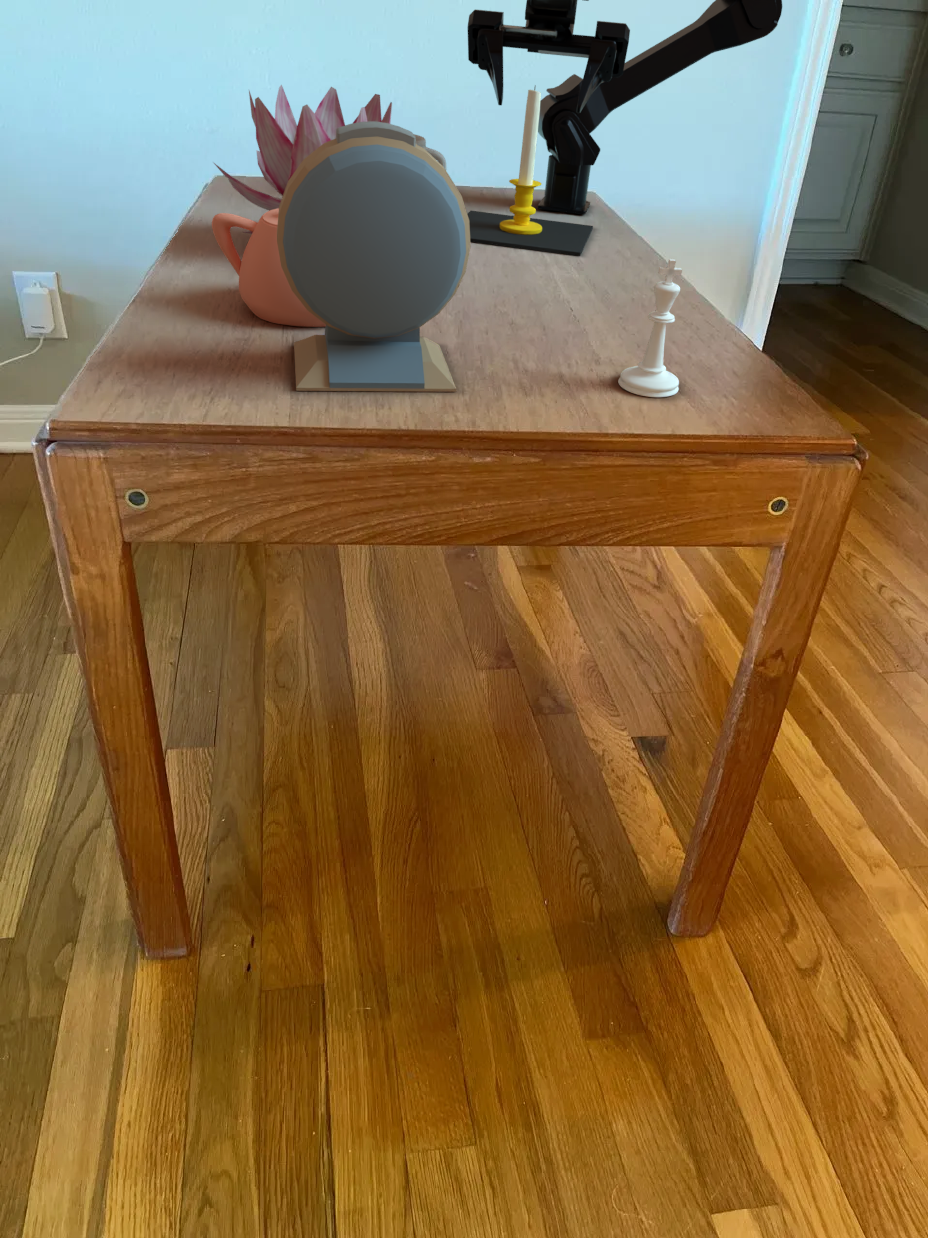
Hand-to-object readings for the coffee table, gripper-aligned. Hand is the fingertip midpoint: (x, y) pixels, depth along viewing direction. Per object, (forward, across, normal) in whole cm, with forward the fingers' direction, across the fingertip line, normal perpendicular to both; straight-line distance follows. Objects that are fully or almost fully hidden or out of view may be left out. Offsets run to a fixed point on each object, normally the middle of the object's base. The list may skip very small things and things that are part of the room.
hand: (539, 106), depth 110 cm
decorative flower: (+24, -21, -4) cm, 32 cm away
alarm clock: (+46, -10, -27) cm, 55 cm away
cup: (+5, -17, +14) cm, 23 cm away
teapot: (+37, -17, -18) cm, 45 cm away
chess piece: (+44, +13, -25) cm, 53 cm away
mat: (+11, 0, +8) cm, 14 cm away
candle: (+11, -1, +8) cm, 14 cm away
